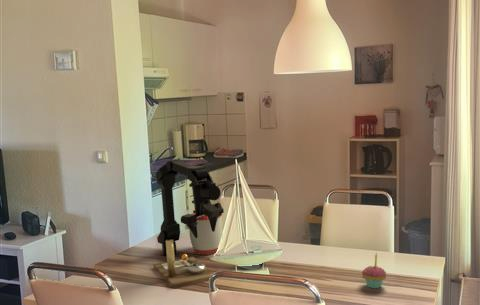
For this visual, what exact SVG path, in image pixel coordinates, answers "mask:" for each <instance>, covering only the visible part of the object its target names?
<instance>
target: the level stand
mask: <svg viewBox="0 0 480 305" xmlns="http://www.w3.org/2000/svg"><path fill="white" fill-rule="evenodd" d="M188 260H190V261H191V262H192V263H201V261H199V260H198V259H197V258H195V256H188ZM188 265H189V263H188V262H187V261H186V260H185V261H184V260H182V258H180V259H175V269H180V268H185V267H187V266H188ZM153 268H154V269H155V270H156V272H157V273H158V274H159V275H160V276H161V277H162V278H163V279H164V280H165V281H166V282H167V283H168V284H169V286H170V287H171V288H172V289H178V288H182V287H187V286H191V285H196V284H201V283H205V282H209V281H210V280H209V277H210V275H211V274H212V273H214V272H213V271H212V270H210V269H209V268H208V267H207V266H205V271H204V272H202V273H199V274H191V273H188V271H185V272H180V273H176V275H175V276H173V277H170V276H168V266H167V261H164V262H159V263H154V264H153ZM208 280H209V281H208ZM204 281H205V282H204ZM200 282H201V283H200Z"/></svg>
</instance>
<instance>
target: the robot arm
mask: <svg viewBox="0 0 480 305" xmlns="http://www.w3.org/2000/svg"><path fill="white" fill-rule="evenodd" d="M178 174H181V175H184V176H186V179H187V180H189V181H190V183H189V185H188V186H189V187H190V188H192V197H193V200H191V204H194V205H193V206H194V210H192V213H195V214H194V215H193V214H192V213H186V214H183V215H181V216H180V223H181V224H184V225H187V226H188V227H189V229H190V230H191V232H192V233H193V235H194V236H195V238H198V234H197V224H198V223H197V222H196V221H197V218H200V217H203V216H207V217H208V218H209V221H210V225H211V229H212V231H213V232H214V231H215V227H216V223H217V219H218V218H219V216H221V215H222V216H223V214H224V213H225V212H224V208H223V206H222V203H221V202H217V203H212V202H211V201H217V200H219V198H220V197H221V189H220V188H219V186H217V185H216V184H217V183H216V182H214V181H213V178H212V176H211V175H210V174H211V173H209V170H208V169H207V167H206V166H204V165H195V166H194V165H190V164H188V163H185V162H182V161H180V160H177V159H173V160H168V161H167V162H166V163H165V164H164V165H162V166H161V167H159V168H158V170H157V171H156V172H155V179H156V184H157V185H158V186H159V188H160V190H161V203H162V205H161V206H162V213H163V214H162V216H163V221H162V222H161V223H162V224H161V225H160V232H159V234H158V236H157V237H156V239H157V240H156V241H157V243H159V244H161V250H162V252H161V253H159V256H162V257H166V258H167V252H166V240H174V255H175V256H177V255H179V254H180V252H179V251H177V244H176V242H177V241H180V238H181V237H180V235H181V228H180V227H181V225H180V223H178V222H177V220H176V218H175V216H176V215H175V205H174V203H175V202H174V194H173V193H174V191H173V188H174V186H175V184H176V177H177V175H178ZM221 213H222V214H221ZM189 229H188V230H189Z"/></svg>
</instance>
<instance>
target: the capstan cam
mask: <svg viewBox="0 0 480 305" xmlns="http://www.w3.org/2000/svg"><path fill="white" fill-rule="evenodd" d="M166 252H167V257H166V262H167V266H168V276H170V277H173V276H175V275H176V273H180V272H185V271H188V273H191V274H199V273H202V272H204V271H205V267H206V265H205V263H203V262H200V263H192V262H191V261H190V260H188V257H189V255H187V253H183V254H182V255H181V258H180V259H182V260H184V261H185V260H186V261H187V262H188V263H189V265H188V266H187V267H185V268H180V269H175V260H176V259H175V258H176V257H175V256H176V255H174V240H166Z"/></svg>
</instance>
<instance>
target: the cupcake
mask: <svg viewBox="0 0 480 305" xmlns="http://www.w3.org/2000/svg"><path fill="white" fill-rule="evenodd" d="M377 260H378V255H377V252H375V254H374V265H372V266H371V265H370V266H367V267H365V268H364V269H363V270H362V272H361V276H362V278H363V279H364V280H365V283H366V286H367V287H368V288H369V287H371V288H370V289H373V288H377V289H380V288H381V287H382V284H383V282H384V280H386V279H387V272H386V271H385V270H384V268H382V267H379V266H377V264H378V263H377V262H378V261H377ZM379 287H380V288H379Z"/></svg>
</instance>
